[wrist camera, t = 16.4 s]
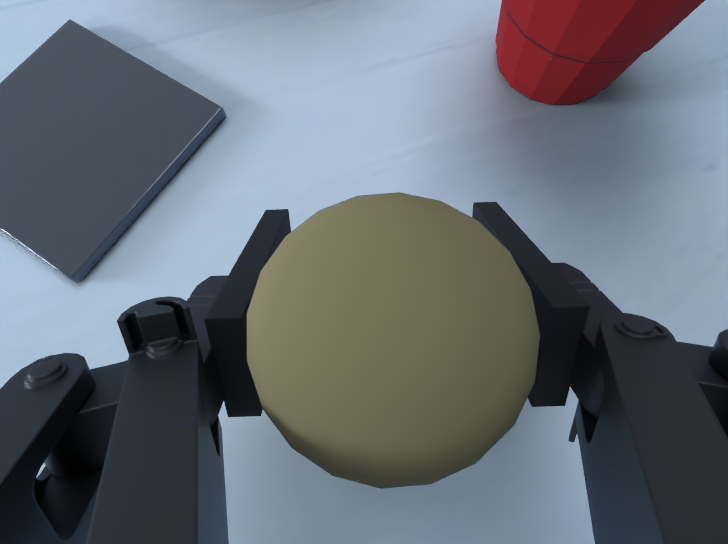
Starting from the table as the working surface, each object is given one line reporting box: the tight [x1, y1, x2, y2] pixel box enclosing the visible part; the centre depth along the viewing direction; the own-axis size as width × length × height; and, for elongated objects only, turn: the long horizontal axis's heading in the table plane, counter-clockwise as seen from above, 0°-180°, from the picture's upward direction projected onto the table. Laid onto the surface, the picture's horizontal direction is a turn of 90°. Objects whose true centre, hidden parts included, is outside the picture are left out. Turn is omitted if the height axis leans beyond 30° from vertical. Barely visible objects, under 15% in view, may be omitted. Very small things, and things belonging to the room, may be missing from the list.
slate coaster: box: [0, 20, 226, 283], centre depth 20 cm, size 10×10×1 cm
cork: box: [247, 193, 540, 488], centre depth 11 cm, size 6×6×11 cm
